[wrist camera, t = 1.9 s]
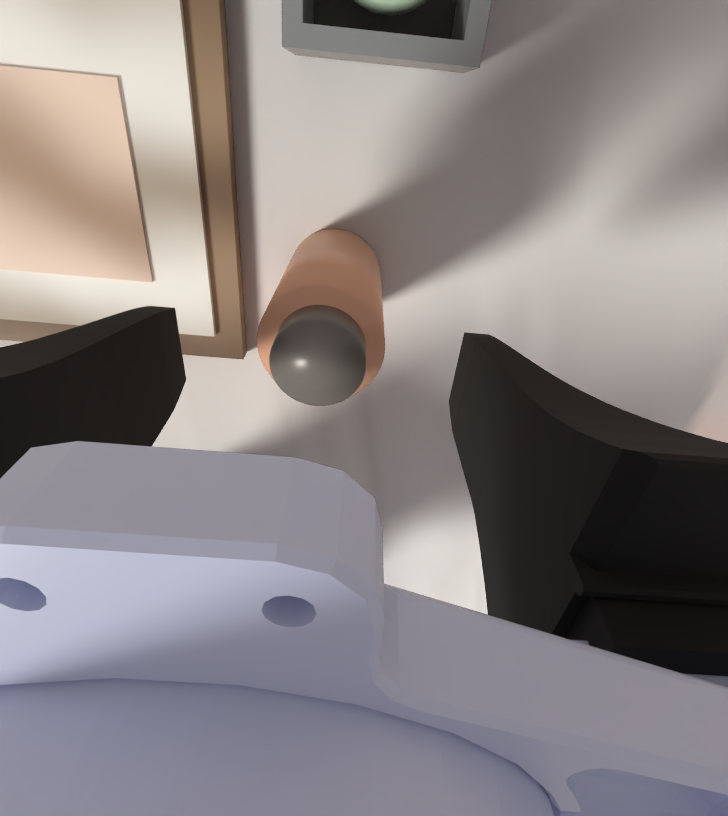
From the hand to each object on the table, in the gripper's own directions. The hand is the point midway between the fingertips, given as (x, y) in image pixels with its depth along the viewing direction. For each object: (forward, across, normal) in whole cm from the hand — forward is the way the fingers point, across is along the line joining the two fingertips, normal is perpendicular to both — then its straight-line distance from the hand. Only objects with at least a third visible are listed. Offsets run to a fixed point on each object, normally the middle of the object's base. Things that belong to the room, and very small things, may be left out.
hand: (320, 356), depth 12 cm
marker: (+7, 0, 0) cm, 7 cm away
